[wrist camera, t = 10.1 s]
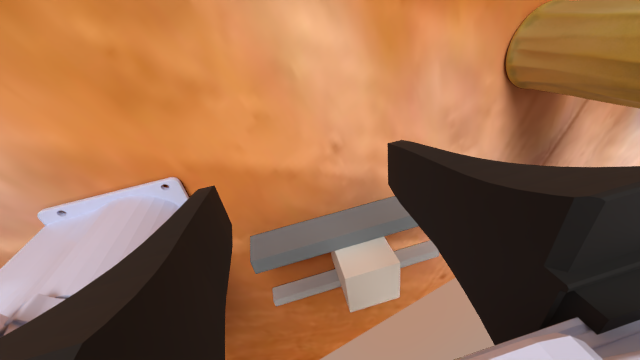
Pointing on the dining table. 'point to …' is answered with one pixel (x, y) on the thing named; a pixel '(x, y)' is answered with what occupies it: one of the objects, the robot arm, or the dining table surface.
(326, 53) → the dining table surface
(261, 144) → the dining table surface
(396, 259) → the cabinet block
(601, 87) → the vase
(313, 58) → the dining table surface
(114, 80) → the dining table surface
